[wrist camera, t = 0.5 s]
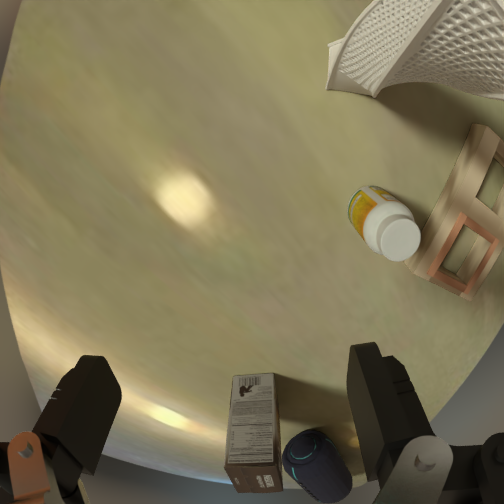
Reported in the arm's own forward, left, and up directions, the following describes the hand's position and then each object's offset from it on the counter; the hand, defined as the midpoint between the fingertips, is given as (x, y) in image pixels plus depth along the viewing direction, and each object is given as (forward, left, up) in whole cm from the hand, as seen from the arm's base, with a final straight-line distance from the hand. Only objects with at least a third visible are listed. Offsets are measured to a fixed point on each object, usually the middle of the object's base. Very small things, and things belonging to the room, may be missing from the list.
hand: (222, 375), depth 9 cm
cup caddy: (-9, +27, -26) cm, 39 cm away
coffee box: (+29, +13, -26) cm, 41 cm away
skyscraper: (-16, +5, -26) cm, 31 cm away
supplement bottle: (-3, +13, -26) cm, 30 cm away
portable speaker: (+44, +33, -26) cm, 61 cm away
